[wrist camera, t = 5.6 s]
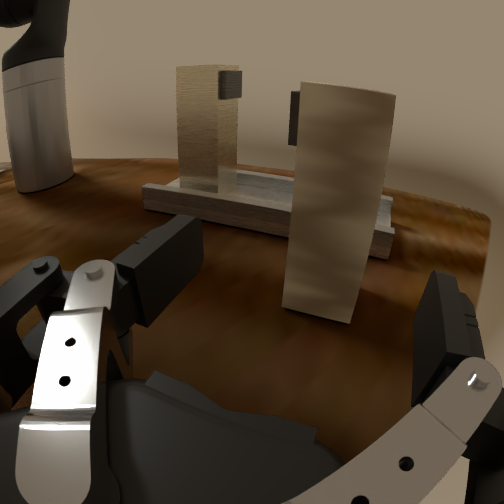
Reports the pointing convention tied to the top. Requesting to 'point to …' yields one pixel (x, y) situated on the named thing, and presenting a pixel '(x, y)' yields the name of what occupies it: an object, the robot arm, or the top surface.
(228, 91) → the rail
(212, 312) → the top surface
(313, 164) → the beige tall rectangular block
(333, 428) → the top surface
